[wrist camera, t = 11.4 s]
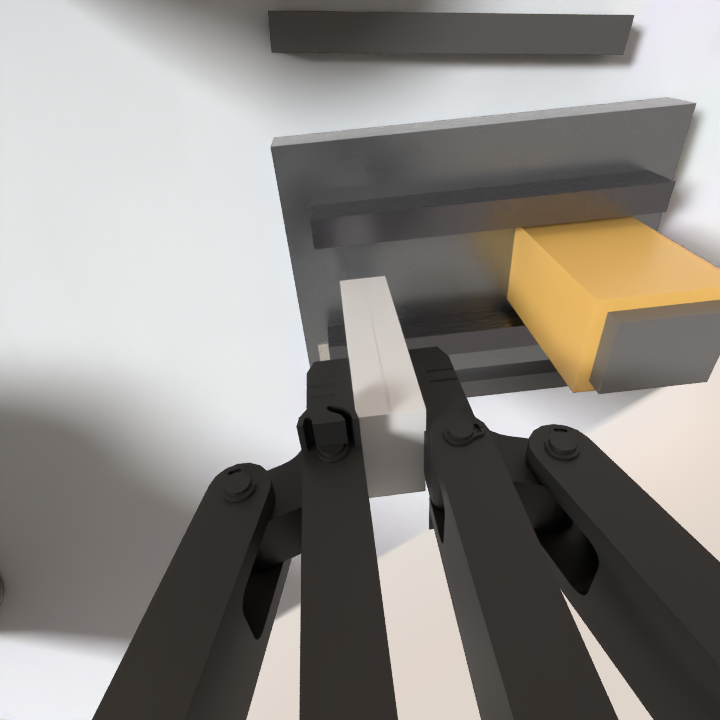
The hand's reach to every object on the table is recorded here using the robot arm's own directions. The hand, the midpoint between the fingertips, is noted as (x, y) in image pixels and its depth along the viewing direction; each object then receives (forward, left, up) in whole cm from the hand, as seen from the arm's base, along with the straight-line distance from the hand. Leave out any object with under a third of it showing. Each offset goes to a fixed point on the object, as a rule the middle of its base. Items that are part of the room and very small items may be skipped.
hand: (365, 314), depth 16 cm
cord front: (+4, +8, -4) cm, 9 cm away
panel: (+5, 0, -4) cm, 6 cm away
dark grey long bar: (+5, -7, -4) cm, 9 cm away
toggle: (+8, 0, -3) cm, 8 cm away
